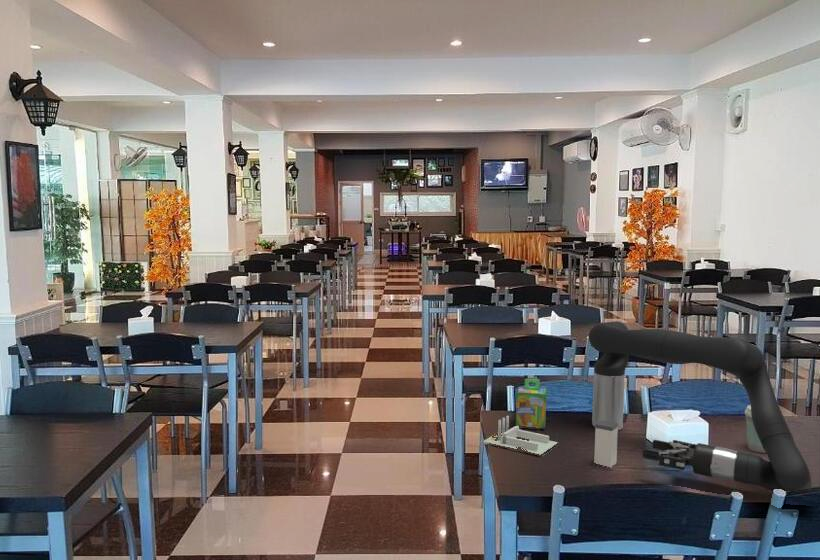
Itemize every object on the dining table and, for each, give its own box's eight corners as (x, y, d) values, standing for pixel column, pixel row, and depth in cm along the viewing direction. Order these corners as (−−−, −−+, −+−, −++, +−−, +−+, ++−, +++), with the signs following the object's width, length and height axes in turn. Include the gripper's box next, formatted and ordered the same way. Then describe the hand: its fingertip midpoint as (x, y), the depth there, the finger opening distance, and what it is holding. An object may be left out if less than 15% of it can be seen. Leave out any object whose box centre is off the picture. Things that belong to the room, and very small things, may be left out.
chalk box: (515, 428, 207) (516, 382, 206) (517, 420, 216) (518, 375, 215) (545, 431, 205) (546, 384, 204) (546, 422, 214) (547, 376, 213)
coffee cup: (779, 449, 191) (782, 408, 190) (771, 456, 185) (773, 414, 184) (747, 442, 197) (750, 402, 196) (738, 449, 191) (740, 408, 190)
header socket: (540, 457, 183) (541, 433, 183) (482, 443, 194) (483, 421, 193) (557, 445, 193) (558, 422, 192) (502, 432, 203) (502, 411, 203)
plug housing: (599, 459, 182) (601, 420, 181) (616, 462, 180) (617, 423, 179) (594, 464, 179) (595, 424, 177) (610, 468, 176) (612, 427, 175)
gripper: (722, 439, 168) (656, 427, 178) (710, 455, 157) (640, 441, 166) (721, 468, 169) (655, 454, 178) (709, 486, 157) (639, 471, 167)
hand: (648, 448), depth 172 cm, fingers open, 8 cm apart
